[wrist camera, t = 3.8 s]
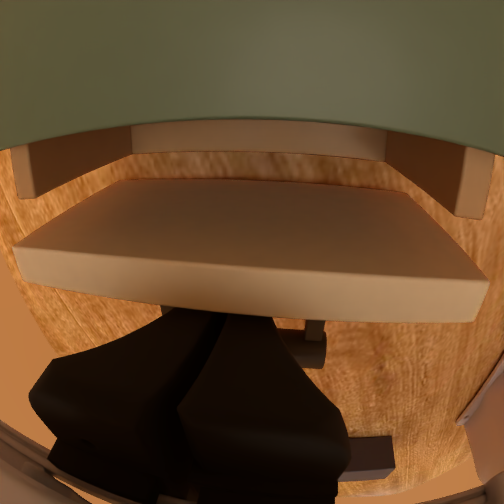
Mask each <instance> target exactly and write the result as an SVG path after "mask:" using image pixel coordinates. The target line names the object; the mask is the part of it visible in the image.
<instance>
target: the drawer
mask: <svg viewBox="0 0 504 504" xmlns="http://www.w3.org/2000/svg"><path fill="white" fill-rule="evenodd" d="M10 151H11V159H12V166H13V172H14V178H15V184H16V190H17V195H18V198H19V199H35V198H37V197H39V196H41V195H43V194H45V193H47V192H49V191H50V190H52V189H54V188H56V187H58V186H61V185H63V184H65V183H67V182H69V181H71V180H73V179H75V178H77V177H79V176H82V175H84V174H86V173H88V172H90V171H93V170H95V169H97V168H100V167H102V166H104V165H107V164H109V163H111V162H114V161H116V160H119V159H121V158H124V157H126V156H129V155H131V154H144V153H163V152H194V151H244V152H276V153H295V154H311V155H324V156H335V157H346V158H356V159H365V160H373V161H381V162H386V163H387V164H389V165H390V166H392V167H393V168H394V169H396V170H397V171H399V172H400V173H401V174H403V175H404V176H405V177H407V178H408V179H409V180H411V181H412V182H413V183H415V184H416V185H417V186H418V187H420V188H421V189H422V190H424V191H425V192H426V193H427V194H429V195H430V196H431V197H432V198H434V199H435V200H436V201H437V202H439V203H440V204H441V205H442V206H443V207H445V208H446V209H447V210H448V211H449V212H450V213H452V214H453V215H454V216H456V217H463V218H470V219H476V220H482V218H483V215H484V211H485V206H486V202H487V197H488V192H489V187H490V182H491V176H492V170H493V164H494V157H495V154H493V153H489V152H486V151H482V150H479V149H475V148H471V147H467V146H463V145H459V144H455V143H450V142H446V141H442V140H437V139H432V138H427V137H422V136H417V135H412V134H406V133H400V132H394V131H388V130H381V129H374V128H367V127H359V126H350V125H341V124H330V123H318V122H304V121H286V120H251V119H230V120H195V121H177V122H163V123H151V124H141V125H132V126H123V127H115V128H108V129H101V130H94V131H88V132H82V133H76V134H71V135H66V136H60V137H55V138H51V139H46V140H41V141H37V142H33V143H28V144H24V145H20V146H16V147H13V148H10ZM12 250H13V253H14V256H15V259H16V262H17V265H18V268H19V271H20V274H21V277H22V279H23V281H24V282H29V283H34V284H38V285H43V286H48V287H53V288H58V289H64V290H69V291H74V292H80V293H85V294H91V295H97V296H103V297H109V298H115V299H121V300H128V301H135V302H141V303H148V304H156V305H160V307H161V311H162V316H163V315H164V314H166V313H167V312H169V311H170V310H172V309H173V308H174V307H178V308H187V309H195V310H204V311H213V312H222V313H232V314H242V315H254V316H265V317H278V318H292V319H306V321H305V328H304V330H295V329H281V328H277V329H278V331H279V333H280V335H281V337H282V339H283V341H284V343H285V344H286V346H287V348H288V349H289V351H290V352H291V354H292V356H293V357H294V358H295V360H296V361H297V362H298V364H299V365H300V367H301V368H312V369H322V368H323V366H324V363H325V357H326V347H327V337H326V332H325V331H323V330H324V325H325V321H346V322H377V323H463V322H473V321H474V320H475V318H476V316H477V314H478V311H479V309H480V307H481V305H482V302H483V300H484V297H485V295H486V293H487V290H488V288H489V285H490V281H489V280H488V278H487V277H486V276H485V275H484V274H483V272H482V271H481V270H480V269H479V268H478V266H477V265H476V264H475V263H474V262H473V261H472V260H471V258H470V257H469V256H468V255H467V254H466V253H465V252H464V251H463V250H462V248H461V247H460V246H459V245H458V244H457V243H456V242H455V241H454V240H453V239H452V238H451V237H450V236H449V234H448V233H447V232H446V231H445V230H444V229H443V228H442V227H441V226H440V225H439V224H438V223H437V222H436V221H435V220H434V219H433V218H432V217H431V216H430V215H429V214H428V213H427V212H426V211H425V210H424V209H423V208H422V207H420V206H419V205H418V204H417V203H416V202H415V201H414V200H413V199H412V198H411V197H410V196H409V195H408V194H406V193H403V192H395V191H386V190H377V189H368V188H358V187H348V186H336V185H324V184H311V183H296V182H278V181H257V180H225V179H144V180H119V181H117V182H115V183H114V184H112V185H110V186H108V187H106V188H104V189H103V190H101V191H99V192H97V193H96V194H94V195H92V196H90V197H89V198H87V199H85V200H83V201H82V202H80V203H78V204H77V205H75V206H73V207H72V208H70V209H68V210H67V211H65V212H63V213H62V214H60V215H59V216H57V217H55V218H54V219H52V220H51V221H49V222H48V223H46V224H45V225H43V226H42V227H40V228H39V229H37V230H36V231H34V232H33V233H31V234H30V235H28V236H27V237H25V238H24V239H22V240H21V241H20V242H18V243H17V244H15V245H14V246H13V247H12Z"/></svg>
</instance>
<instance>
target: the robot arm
mask: <svg viewBox="0 0 504 504" xmlns="http://www.w3.org/2000/svg"><path fill="white" fill-rule="evenodd" d="M29 401H30V403H31V406H32V408H33V409H34V411H35V412H36V414H37V415H38V416H39V417H40V419H41V420H42V421H43V422H44V424H45V425H46V426H47V427H48V428H49V429H50V430H51V432H52V433H53V434H54V435H55V436H56V437H57V440H56V442H55V444H54V446H53V448H52V449H51V450H49V449H47V448H45V447H44V446H42V445H40V444H38V443H36V442H35V441H33V440H31V439H29V438H28V437H26V436H24V435H23V434H21V433H20V432H18V431H16V430H15V429H13V428H11V427H10V426H9V425H7V424H5V423H4V422H3V421H1V420H0V504H92V503H90V502H88V501H87V500H85V499H84V498H82V497H81V496H80V495H78V494H77V493H76V492H74V490H72V489H71V488H69V487H68V486H66V485H65V484H63V483H61V482H59V481H58V480H56V479H55V478H54V477H56V478H58V479H60V480H62V481H64V482H66V483H68V484H70V485H72V486H74V487H76V488H78V489H80V490H82V491H84V492H86V493H88V494H91V495H93V496H95V497H97V498H100V499H102V500H104V501H107V502H109V503H112V504H335V497H336V496H337V494H338V479H339V478H340V476H341V475H342V474H343V472H344V471H345V469H346V468H347V467H348V465H349V464H350V461H351V458H352V456H351V446H350V441H349V437H348V433H347V429H346V426H345V423H344V420H343V418H342V415H341V412H340V410H339V409H338V408H337V407H336V406H335V405H334V404H333V403H332V402H331V401H330V400H329V399H328V398H327V397H326V396H325V395H324V394H323V393H322V392H321V391H320V390H319V389H318V388H317V387H316V385H315V384H314V383H313V382H312V381H311V380H310V378H309V377H308V376H307V375H306V373H305V372H304V371H303V369H302V368H301V367H300V365H299V364H298V362H297V361H296V360H295V358H294V357H293V356H292V354H291V352H290V351H289V349H288V348H287V346H286V344H285V343H284V341H283V339H282V337H281V335H280V333H279V331H278V329H277V327H276V325H275V323H274V320H273V318H272V317H265V316H254V315H242V314H232V313H222V312H213V311H204V310H195V309H187V308H178V307H174V308H173V309H172V310H170V311H169V312H167V313H166V314H164V315H163V316H161V317H159V318H158V319H156V320H154V321H153V322H151V323H149V324H147V325H146V326H144V327H142V328H140V329H138V330H136V331H134V332H132V333H130V334H127V335H125V336H123V337H121V338H119V339H117V340H114V341H112V342H109V343H107V344H104V345H101V346H98V347H96V348H93V349H90V350H86V351H83V352H79V353H76V354H72V355H68V356H64V357H60V358H56V359H53V360H52V361H51V362H50V364H49V365H48V366H47V368H46V369H45V371H44V372H43V373H42V375H41V376H40V378H39V379H38V380H37V382H36V383H35V385H34V386H33V388H32V389H31V390H30V392H29ZM456 425H457V426H461V425H464V427H465V430H466V433H467V437H468V440H469V444H470V448H471V451H472V455H473V459H474V463H475V468H476V472H477V475H478V477H479V479H480V481H481V482H482V483H483V484H484V485H482V486H479V487H476V488H473V489H470V490H467V491H464V492H461V493H457V494H454V495H450V496H446V497H443V498H439V499H435V500H431V501H426V502H422V503H418V504H504V354H503V356H502V357H501V359H500V361H499V362H498V364H497V365H496V367H495V368H494V370H493V372H492V373H491V375H490V376H489V378H488V379H487V381H486V382H485V383H484V385H483V386H482V388H481V389H480V391H479V392H478V393H477V395H476V396H475V397H474V399H473V400H472V402H471V403H470V404H469V405H468V407H467V408H466V409H465V411H464V412H463V413H462V414H461V416H460V417H459V418H458V419H457V421H456Z"/></svg>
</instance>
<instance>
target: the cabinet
mask: <svg viewBox="0 0 504 504" xmlns="http://www.w3.org/2000/svg"><path fill="white" fill-rule="evenodd" d="M230 119H251V120H286V121H304V122H318V123H330V124H341V125H350V126H359V127H367V128H374V129H381V130H388V131H394V132H400V133H406V134H412V135H417V136H422V137H427V138H432V139H437V140H442V141H446V142H450V143H455V144H459V145H463V146H467V147H471V148H475V149H479V150H482V151H486V152H489V153H493V154H496V155H500V156H503V157H504V0H0V151H2V150H5V149H9V148H13V147H16V146H20V145H24V144H28V143H33V142H37V141H41V140H46V139H51V138H55V137H60V136H66V135H71V134H76V133H82V132H88V131H94V130H101V129H108V128H115V127H123V126H132V125H141V124H151V123H163V122H177V121H195V120H230Z"/></svg>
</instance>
